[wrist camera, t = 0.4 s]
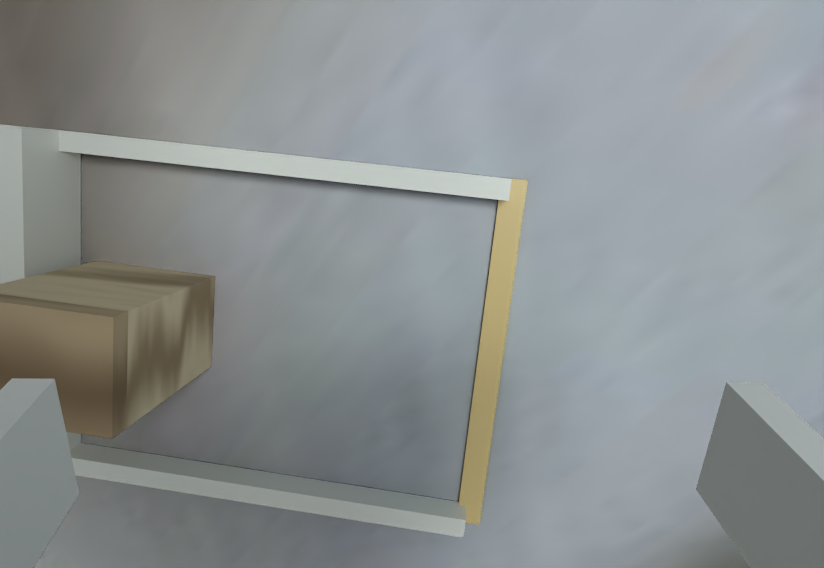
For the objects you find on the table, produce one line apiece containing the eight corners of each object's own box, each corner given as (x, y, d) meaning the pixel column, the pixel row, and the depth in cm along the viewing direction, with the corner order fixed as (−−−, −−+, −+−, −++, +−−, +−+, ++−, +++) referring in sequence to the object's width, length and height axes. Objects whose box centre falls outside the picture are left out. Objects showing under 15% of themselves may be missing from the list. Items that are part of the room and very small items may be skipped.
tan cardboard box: (96, 261, 39) (-49, 295, 29) (215, 276, 39) (113, 317, 28) (95, 349, 41) (-43, 414, 30) (211, 366, 40) (112, 438, 29)
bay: (58, 129, 38) (-5, 123, 33) (527, 180, 36) (534, 182, 31) (60, 455, 42) (6, 493, 38) (479, 522, 40) (479, 571, 35)
